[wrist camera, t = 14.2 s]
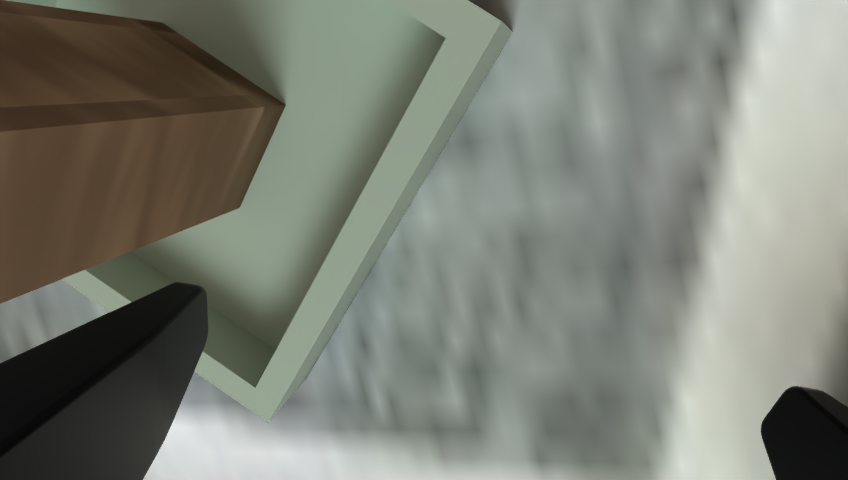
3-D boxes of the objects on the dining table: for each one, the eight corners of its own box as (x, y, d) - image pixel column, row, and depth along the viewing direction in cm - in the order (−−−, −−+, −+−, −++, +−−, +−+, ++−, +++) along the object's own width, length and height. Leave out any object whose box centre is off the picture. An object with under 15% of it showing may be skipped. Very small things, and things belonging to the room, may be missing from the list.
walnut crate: (285, 104, 20) (-86, 139, 8) (239, 207, 22) (-114, 348, 10) (162, 22, 20) (-359, -51, 9) (127, 131, 22) (-337, 187, 11)
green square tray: (512, 31, 18) (501, 21, 15) (306, 378, 25) (268, 422, 22) (103, -225, 19) (8, -288, 16) (14, 177, 26) (-65, 191, 22)
